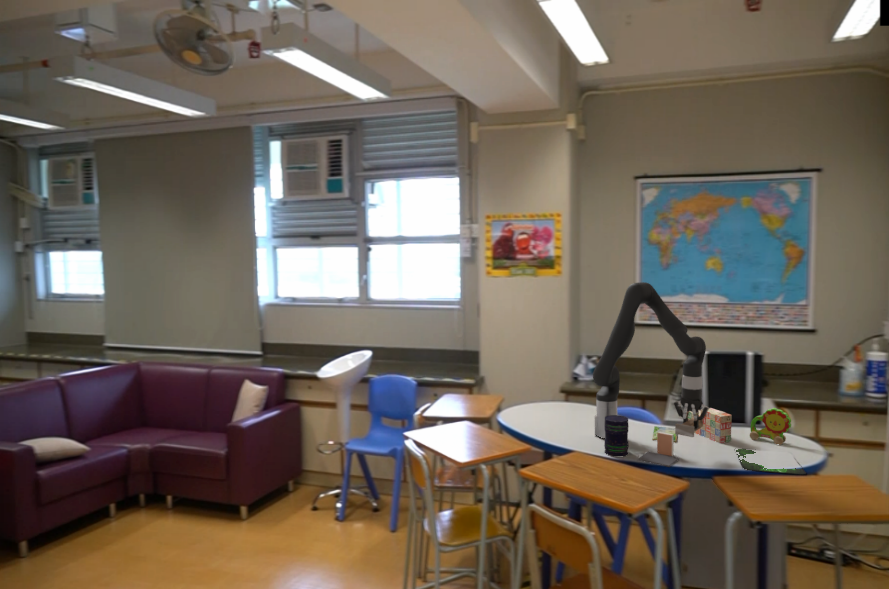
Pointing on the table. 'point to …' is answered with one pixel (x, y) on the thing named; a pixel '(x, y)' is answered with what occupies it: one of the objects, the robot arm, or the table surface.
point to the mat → (658, 459)
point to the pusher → (687, 428)
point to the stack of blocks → (715, 425)
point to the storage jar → (616, 435)
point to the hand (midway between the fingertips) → (690, 428)
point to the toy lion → (772, 426)
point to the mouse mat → (760, 468)
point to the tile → (665, 443)
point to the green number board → (665, 430)
